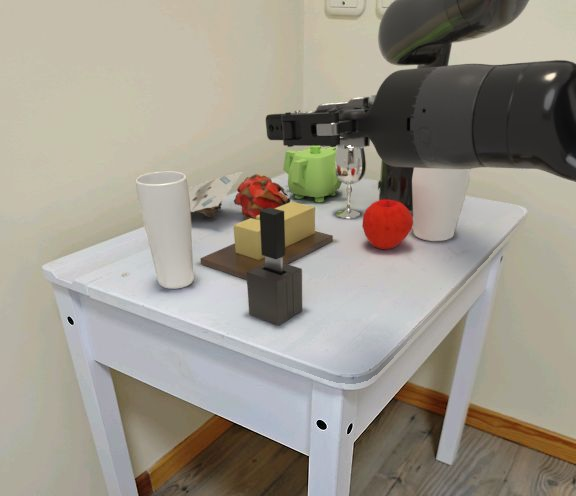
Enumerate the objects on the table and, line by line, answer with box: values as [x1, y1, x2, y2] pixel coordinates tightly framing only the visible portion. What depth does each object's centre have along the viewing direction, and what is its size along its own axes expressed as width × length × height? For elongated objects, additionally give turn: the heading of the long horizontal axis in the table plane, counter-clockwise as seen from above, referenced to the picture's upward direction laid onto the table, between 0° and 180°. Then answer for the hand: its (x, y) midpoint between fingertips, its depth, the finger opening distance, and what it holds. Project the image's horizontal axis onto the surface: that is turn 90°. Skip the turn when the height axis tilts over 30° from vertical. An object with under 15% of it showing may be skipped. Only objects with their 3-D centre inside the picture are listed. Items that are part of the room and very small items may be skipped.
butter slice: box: [233, 217, 265, 260], centre depth 87 cm, size 4×5×4 cm
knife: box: [259, 208, 285, 275], centre depth 70 cm, size 2×3×14 cm
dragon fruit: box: [233, 173, 291, 220], centre depth 101 cm, size 8×8×12 cm
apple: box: [362, 199, 414, 250], centre depth 90 cm, size 8×8×7 cm
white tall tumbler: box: [135, 170, 195, 290], centre depth 78 cm, size 7×7×15 cm
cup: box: [412, 168, 471, 242], centre depth 92 cm, size 9×9×12 cm
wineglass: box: [334, 145, 367, 219], centre depth 102 cm, size 6×6×12 cm
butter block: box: [256, 201, 316, 247], centre depth 92 cm, size 9×5×4 cm, turn 141°
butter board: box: [200, 230, 334, 281], centre depth 91 cm, size 20×11×1 cm, turn 140°
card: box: [188, 170, 244, 218], centre depth 105 cm, size 11×15×5 cm
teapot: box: [283, 146, 343, 203], centre depth 113 cm, size 12×12×10 cm
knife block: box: [246, 263, 303, 326], centre depth 72 cm, size 5×5×6 cm
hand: (300, 122), depth 56 cm, fingers open, 8 cm apart
